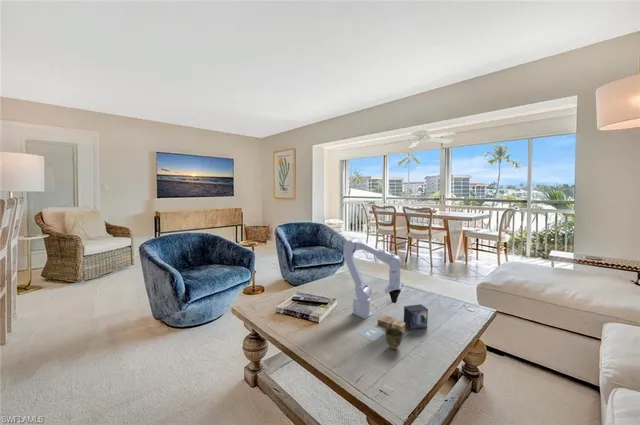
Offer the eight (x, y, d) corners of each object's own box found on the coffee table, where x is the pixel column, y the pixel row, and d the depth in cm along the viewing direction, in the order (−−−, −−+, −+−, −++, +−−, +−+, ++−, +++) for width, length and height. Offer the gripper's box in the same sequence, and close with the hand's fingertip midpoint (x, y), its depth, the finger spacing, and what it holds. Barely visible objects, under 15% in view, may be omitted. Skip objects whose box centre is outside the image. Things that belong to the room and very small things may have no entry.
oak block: (391, 333, 138) (391, 323, 137) (395, 328, 142) (395, 319, 141) (401, 336, 135) (401, 326, 134) (405, 332, 139) (405, 322, 138)
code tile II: (387, 332, 138) (387, 332, 138) (395, 327, 144) (395, 326, 144) (401, 339, 133) (401, 338, 133) (409, 333, 138) (409, 332, 138)
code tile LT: (355, 332, 139) (355, 332, 139) (368, 325, 146) (368, 324, 146) (373, 341, 131) (373, 341, 131) (386, 333, 138) (386, 332, 138)
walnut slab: (377, 324, 147) (377, 319, 147) (384, 320, 152) (384, 314, 152) (389, 329, 142) (389, 323, 142) (396, 324, 147) (396, 319, 147)
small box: (409, 331, 140) (410, 311, 139) (402, 324, 146) (403, 305, 145) (427, 328, 142) (428, 309, 141) (420, 322, 149) (421, 303, 148)
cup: (389, 341, 131) (389, 325, 130) (404, 347, 126) (405, 330, 125) (382, 348, 125) (382, 332, 124) (397, 355, 120) (398, 337, 119)
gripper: (393, 283, 140) (392, 309, 142) (408, 276, 150) (407, 300, 151) (381, 279, 145) (381, 304, 147) (396, 273, 155) (396, 297, 157)
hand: (394, 302), depth 149 cm, fingers closed
